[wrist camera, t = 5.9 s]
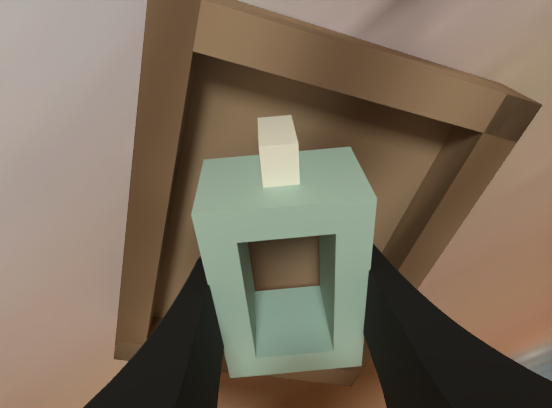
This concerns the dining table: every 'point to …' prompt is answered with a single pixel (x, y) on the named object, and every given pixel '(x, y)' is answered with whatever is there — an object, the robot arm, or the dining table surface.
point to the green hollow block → (279, 225)
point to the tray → (311, 136)
